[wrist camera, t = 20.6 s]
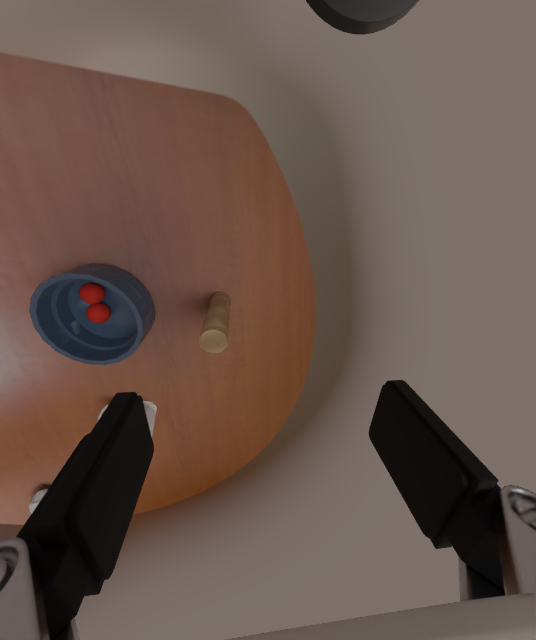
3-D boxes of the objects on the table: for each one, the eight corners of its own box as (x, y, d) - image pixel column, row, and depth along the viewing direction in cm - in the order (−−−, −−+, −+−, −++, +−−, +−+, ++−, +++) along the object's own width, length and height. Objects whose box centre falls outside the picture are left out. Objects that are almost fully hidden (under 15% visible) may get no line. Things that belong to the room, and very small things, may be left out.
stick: (206, 297, 39) (193, 337, 27) (224, 288, 38) (218, 324, 27) (217, 313, 40) (208, 358, 28) (234, 304, 40) (232, 346, 28)
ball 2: (76, 313, 34) (90, 296, 35) (92, 316, 37) (105, 301, 37) (90, 325, 34) (105, 308, 34) (106, 328, 37) (119, 313, 37)
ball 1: (108, 286, 34) (85, 275, 33) (95, 303, 33) (71, 292, 32) (110, 293, 37) (88, 283, 36) (98, 310, 35) (75, 300, 34)
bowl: (39, 291, 35) (4, 306, 30) (113, 245, 34) (89, 253, 28) (107, 356, 41) (88, 378, 36) (173, 319, 40) (163, 337, 34)
